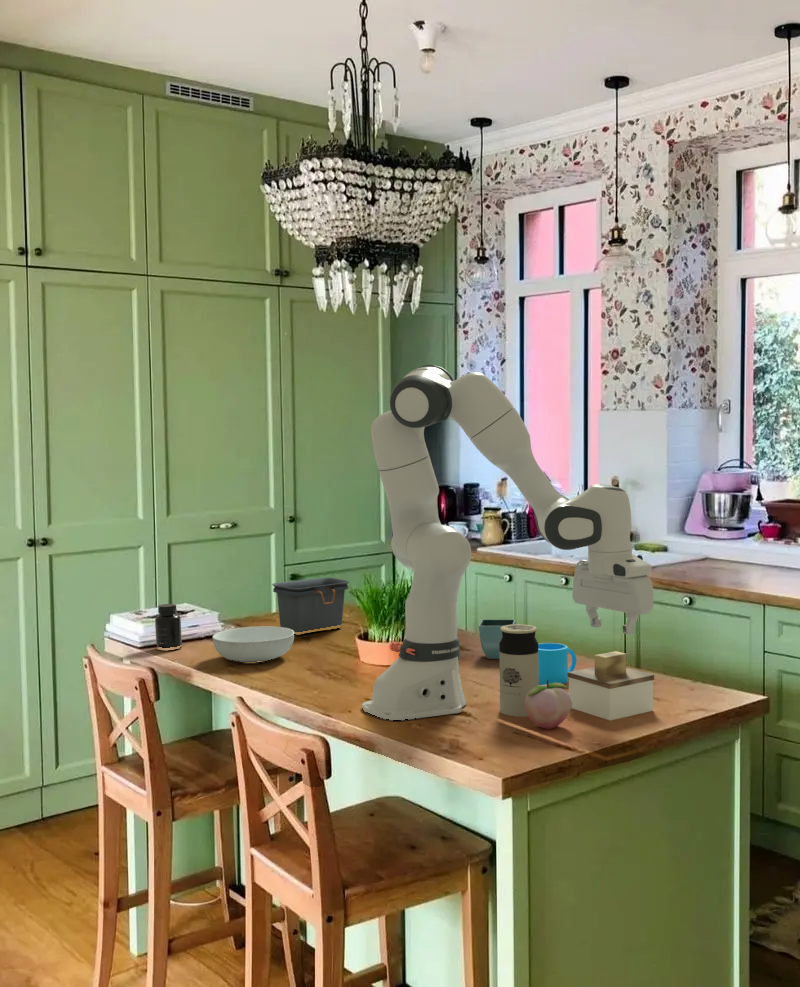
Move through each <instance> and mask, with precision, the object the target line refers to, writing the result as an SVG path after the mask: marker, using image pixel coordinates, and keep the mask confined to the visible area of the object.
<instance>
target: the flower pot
mask: <svg viewBox="0 0 800 987" xmlns="http://www.w3.org/2000/svg"><path fill="white" fill-rule="evenodd" d="M513 624H516V619H504V618H503V619H491V618H490V619H488V618H487V619H481V620H480V623H479V625H478V632H479V633H478V634H479V640H480V646H481V648H482V649H481V650H482V651H483V653H484V656H485V657H486V658H487V659H491V660H494V659H495V660H496V659H498V660H499V643H500V641H501V639H502V637H503V636H502V631H501V630H500V628H501V627H502V626H505V625H513Z"/></svg>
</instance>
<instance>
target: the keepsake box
mask: <svg viewBox="0 0 800 987" xmlns="http://www.w3.org/2000/svg"><path fill="white" fill-rule="evenodd" d="M653 685H654V680H651V681H646V682H641V683H636V684H631V685H627V686H622V687H617V688H612V689H608V688H605V687H601V686H598V685H594V684H591V683H587V682H583V681H580V680H576V679H573V678H569V677H568V688H569V689H568V694H569V696H570V698H571V701H572V707H571V710H576V711H579V712H582V713H585V714H588V715H591V716H594V717H598V718H600V719H603V720H607V721H614V720H619V719H623V718H628V717H631V716H635V715H640V714H645V713H648V712H653V711H654V698H653V697H654V686H653Z"/></svg>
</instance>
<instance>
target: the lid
mask: <svg viewBox="0 0 800 987" xmlns="http://www.w3.org/2000/svg"><path fill="white" fill-rule="evenodd" d="M567 675H568V679H569V678H573V679H576V680H580V681H583V682H587V683H591V684H594V685H598V686H601V687H605V688H608V689H612V688H617V687H622V686H627V685H631V684H636V683H641V682H646V681H651V680H653V681H654V680H655V674H652V673H648V672H644V671H640V670H636V669H633V668H629V667H627V653H625V652H621V651H617V650H614V651H610V652H605V653H599V654H594V667H592V666H591V667H587V668H582V669H577V670H573V671H571V672H567Z"/></svg>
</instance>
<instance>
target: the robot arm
mask: <svg viewBox="0 0 800 987" xmlns="http://www.w3.org/2000/svg"><path fill="white" fill-rule="evenodd" d="M389 408H390V410H388V411H385V412H383V413H381V414H380V415H379V416H377V417H375V419H374V420H373V422H372V423H371V428H370V432H371V433H370V434H371V441H372V448H373V453H374V458H375V463H376V466H377V468H378V472H379V473H378V474H379V475H380V479H381V482H382V485H383V489H384V492H385V496H386V499H387V503H388V507H389V513H390V522H391V531H392V538H391V544H390V545H391V550H392V554H393V556H395V558H396V559H397V561H398V562H399V563H400V564H401V565H402V566H404V567H405V568H407V569H409V570H411V571H413V577H412V584H411V588H410V592H409V595H408V597H407V598H406V600H405V605H404V611H405V613H404V615H405V620H404V621H405V622H404V624H405V637H404V639H403V641H402V644H401V643H399V642H396V641H392V642H390V644H389V650H390V651H392V652H395V653H398V657H397V659H395V661H394V662H392V664H390V665H389V666H388V667H387V668H386V670H384V671H383V672H382V673H381V674H380V675H379V676H378V677H377V678H376V679H375V681H374V683H373V684H374V685H373V687H372V689H373V690H372V696H371V700H367V701H364V702H362V705H361V709H362V708H363V709H364V710H365V711H366V712H368V713H370V714H372V715H375V716H377V717H376V718H378V717H380V718H379V719H382V718H383V719H382V720H386V719H389V720H388V721H393V720H401V721H406V720H405V719H408V720H415V718H416V719H422V718H430V717H437V716H439V717H440V716H444V715H452V714H459V713H461V712H462V711H463V710H462V708H463V707H464V706H466V704H467V701H466V698H465V695H464V690H463V686H462V681H461V674H460V673H461V672H460V667H459V666H460V665H459V659H460V654H461V652H460V650H461V649H460V645H461V644H460V638H459V637H458V600H459V594H460V588H461V586H462V585H461V584H462V579H463V575H464V572H465V571H466V570H467V568H468V567H469V565H470V563H471V559H472V547H471V544H470V542H469V540H468V539H467V538H466V536H464V535H463V534H462V533H461V532H460V531H459V530H457V529H456V528H454V527H452V526H449V525H445V524H442V522H441V520H440V517H439V508H438V496H439V494H440V488H439V484H438V480H437V477H436V474H435V470H434V467H433V465H432V464H433V463H432V460H431V456H430V453H429V450H428V448H427V447H428V446H427V444H426V441H425V434H424V433H425V428H426V427H429V426H432V425H435V424H437V423H441V422H444V421H446V420H448V419H451V420H452V421H454V422H455V423H457V424H458V426H460V428H461V429H462V430H463V432H464V433H465V435H466V436H467V437H468V439H469V440H470V441H471V443H472V444H473V446H474V447H475V448H476V449H477V451H479V452H480V454H481V455H482V456H483V457H485V458H486V459H487V461H488V462H490V463H491V464H492V465H493V466H495V467H497V468H498V469H500V470H501V471H502V472H503V473H505V474H506V475H507V476H508V477H509V478H510V479H511V480H512V481H513V483H514V484H515V486H516V488H517V489H518V490H519V491H520V493H521V494H522V496H523V497H524V499H525V500H526V502H528V504H529V505H530V507H531V508H532V511H533V513H534V514H533V515H534V519H535V524H536V525H535V526H536V528H537V531H538V533H539V535H540V537H542V538H543V539H544V540H545V541H546V542H547V543H549V544H551V545H552V546H553V547H555V548H556V549H559V550H563V551H572V550H577V549H579V548H585V547H587V555H588V556H587V558H588V560H586V559H580V560H579V561H578V562H577V563H576V564H575V566H574V573H573V580H572V600H573V602H574V603H575V604H578V605H584V606H585V612H586V613H587V615H588V617H589V623H590V624H589V625H590V627H591V628H596V629H597V628H601V627H602V618H601V617H599V614H598V612H597V610H598V609H599V608H600V609H605V610H611V611H615V612H621V613H625V618H627V621H626V623H625V624H623V625H622V633H623V635H629V636H631V635H634V634H635V625H636V623H637V621H638V619H639V616H641V615H647V614H650V613H651V612H652V610H653V609H654V588H653V582H652V579H651V577H649V575H652V570H653V568H652V565H651V564H650V563H648V562H647V561H645V560H643V559H641V558H640V557H638V556H637V555H635V554H633V546H632V543H631V533H632V528H633V527H632V510H631V504H630V503H631V502H630V498H629V495H628V493H627V492H626V491H625V490H624V489H623V488H620V487H618V486H614V485H608V484H599V483H596V484H595V483H594V484H592V485H590V486H589V488H587V489H586V490H584V491H583V492H581V493H580V494H578V495H576V496H573V497H572V498H570V499H569V498H567V497H566V496H564V495H562V494H561V493H560V492H559V491H558V490H557V489H556V488H555V487H554V485H553V483H552V482H551V481H550V479H549V478H548V477H547V476H546V473H544V471H543V470H542V468H541V467H540V466H539V464H538V463H537V461H536V459H535V456H534V454H533V450H532V445H531V444H532V443H531V435H530V433H529V431H528V428H527V426H526V424H525V423H524V420H523V419H522V417H521V415H520V414H519V412H518V411H517V409H516V408H515V406H514V405H513V403H512V402H511V401H510V400H509V399H508V397H507V396H506V395H505V394H504V393H503V392H502V390H501V389H500V388H499V387H498V386H497V384H495V383H494V382H493V381H492V380H491V379H490V378H489V377H488V376H486V375H485V374H483V373H481V372H478V371H477V372H475V371H474V372H469V373H466V374H463V375H462V376H460V377H458V378H457V379H455V380H454V378H453V376H452V374H451V373H449V372H448V370H447V369H445V368H443V367H441V366H438V365H434V364H429V365H423V366H421V367H418V368H416V369H413V370H411V371H409V372H408V373H407V374H406V375H404V376H403V378H402V379H400V380H398V381H397V382H396V384H395V385H394V386H393V388H392V391H391V393H390V397H389ZM365 711H364V712H365ZM366 712H365V713H366ZM368 713H367V714H368ZM370 714H369V715H370ZM372 715H371V716H372ZM375 716H374V717H375Z"/></svg>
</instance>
